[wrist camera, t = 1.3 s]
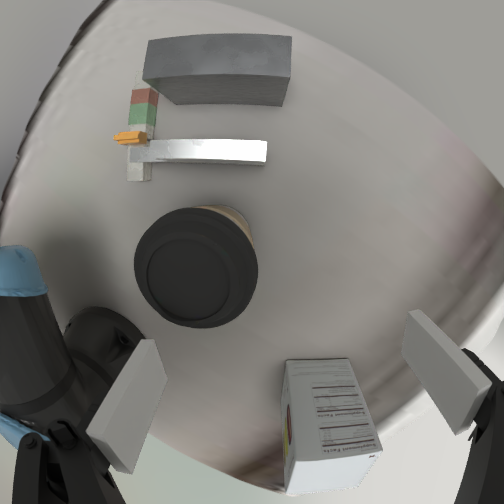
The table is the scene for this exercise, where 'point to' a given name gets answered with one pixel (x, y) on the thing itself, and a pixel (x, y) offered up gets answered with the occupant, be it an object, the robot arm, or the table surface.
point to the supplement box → (325, 427)
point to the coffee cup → (197, 266)
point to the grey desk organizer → (207, 77)
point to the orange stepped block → (131, 138)
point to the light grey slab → (201, 151)
